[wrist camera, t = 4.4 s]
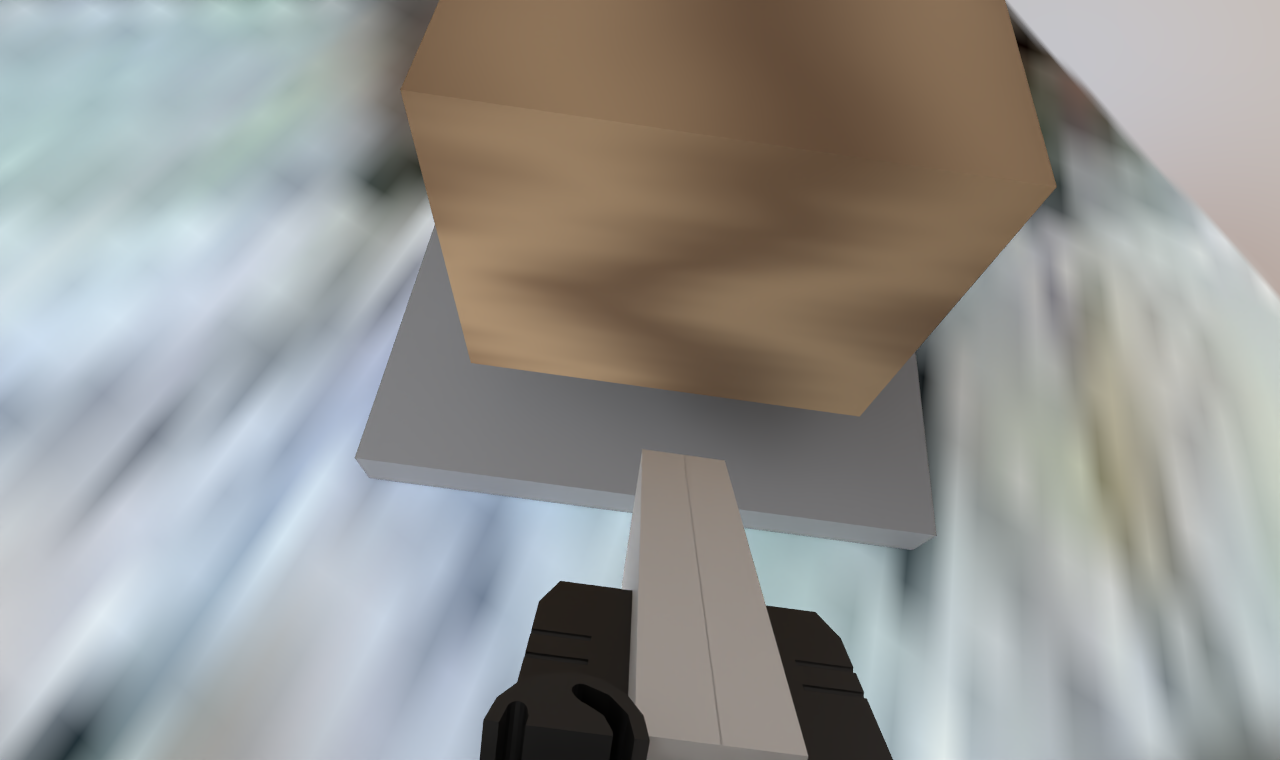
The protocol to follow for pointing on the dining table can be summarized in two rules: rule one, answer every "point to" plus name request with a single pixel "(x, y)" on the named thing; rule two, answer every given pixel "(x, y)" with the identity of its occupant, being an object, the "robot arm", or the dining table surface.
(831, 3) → the oak block
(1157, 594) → the dining table surface
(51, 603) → the dining table surface
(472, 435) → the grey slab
